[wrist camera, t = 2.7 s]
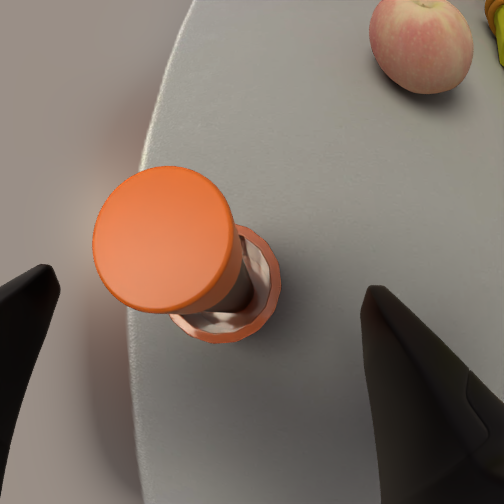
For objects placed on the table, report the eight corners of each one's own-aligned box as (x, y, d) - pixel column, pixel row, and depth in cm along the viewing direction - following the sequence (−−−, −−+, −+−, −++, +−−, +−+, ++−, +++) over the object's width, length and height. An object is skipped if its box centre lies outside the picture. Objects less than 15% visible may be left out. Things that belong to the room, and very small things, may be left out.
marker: (257, 312, 17) (240, 306, 5) (208, 316, 17) (92, 317, 5) (252, 263, 17) (227, 154, 5) (205, 268, 17) (93, 176, 5)
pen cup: (280, 330, 17) (286, 337, 12) (193, 338, 17) (165, 346, 12) (271, 244, 18) (273, 216, 13) (186, 253, 18) (157, 229, 13)
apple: (416, 43, 21) (445, -19, 13) (462, 108, 20) (510, 49, 12) (342, 46, 21) (360, -30, 13) (388, 118, 19) (431, 40, 11)
